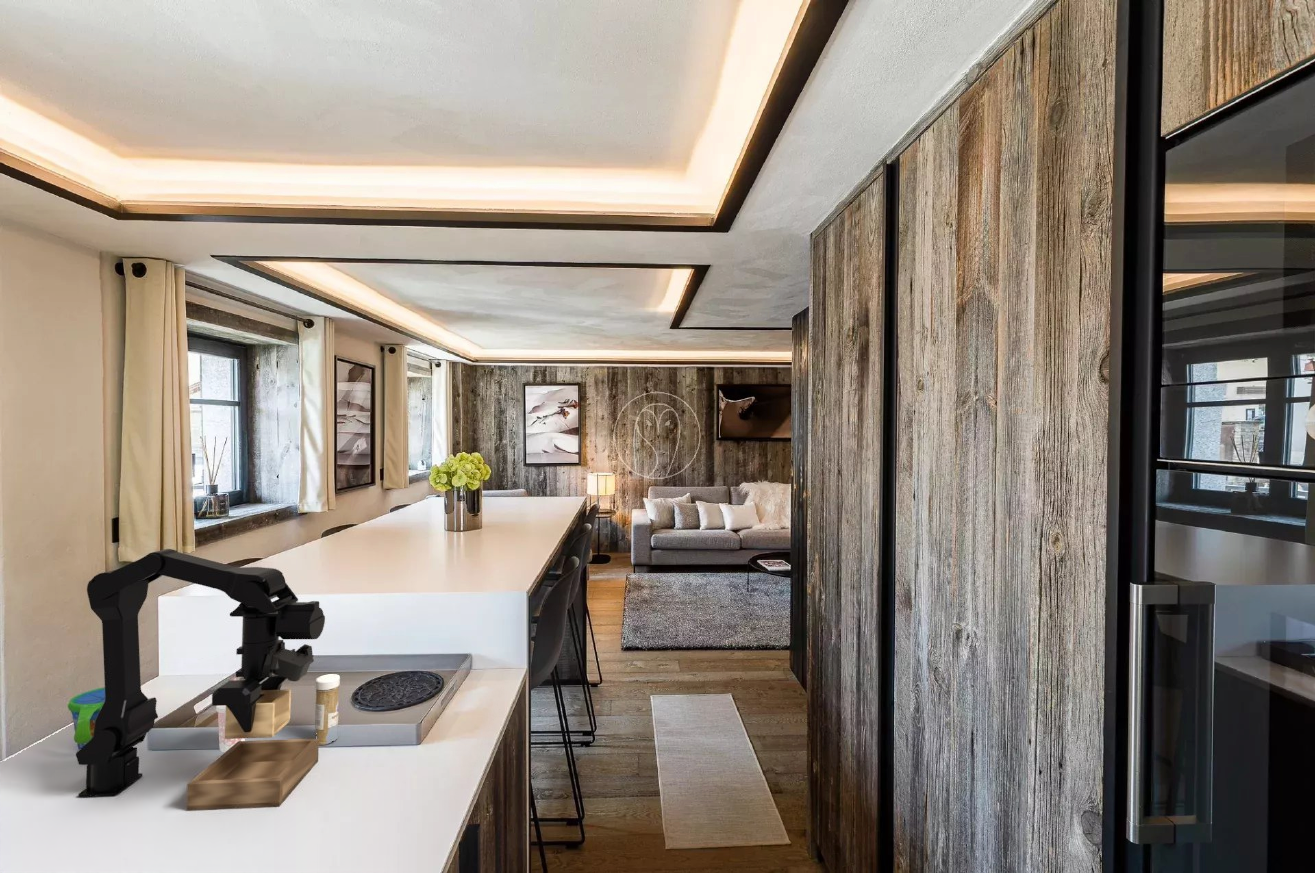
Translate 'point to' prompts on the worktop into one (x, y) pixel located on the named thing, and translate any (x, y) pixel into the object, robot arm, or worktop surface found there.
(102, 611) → the robot arm
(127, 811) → the worktop surface
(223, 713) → the beverage cup
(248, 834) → the worktop surface
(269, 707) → the oak crate
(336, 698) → the spice jar
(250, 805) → the walnut crate
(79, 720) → the snack cup
